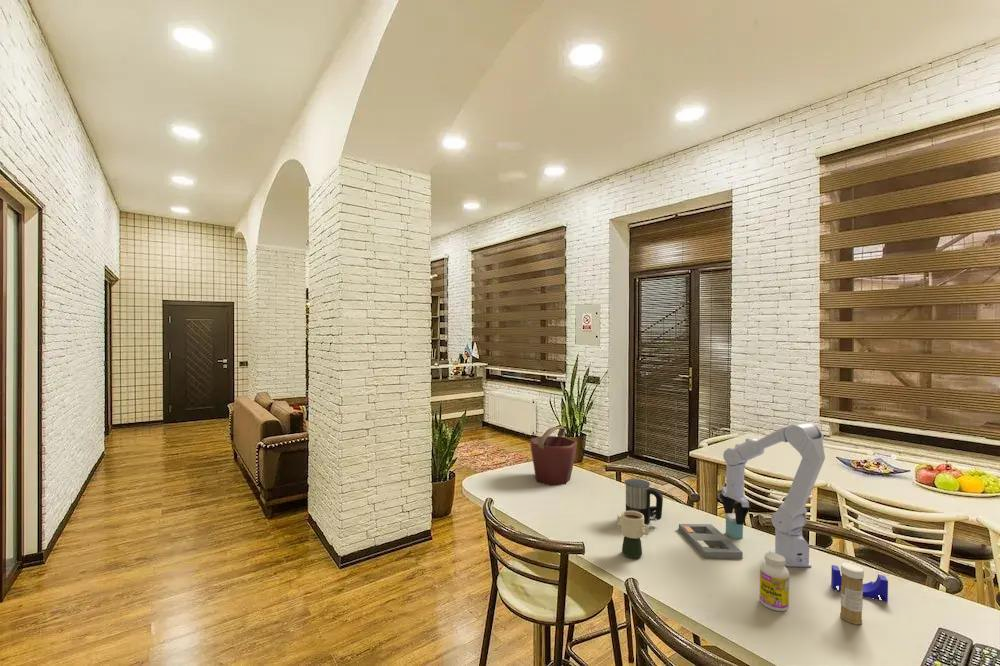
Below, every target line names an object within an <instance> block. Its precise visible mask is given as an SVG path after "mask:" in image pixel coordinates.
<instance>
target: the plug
mask: <svg viewBox="0 0 1000 666" xmlns="http://www.w3.org/2000/svg"><path fill="white" fill-rule="evenodd" d="M724 517H725V534H726V535H727V536H728V537H729V538H731V539H743V538H744V536H743V535H744V524H743V525H737V523H736V517H735V512H733V513H725V512H724Z"/></svg>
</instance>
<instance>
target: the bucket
mask: <svg viewBox="0 0 1000 666" xmlns="http://www.w3.org/2000/svg"><path fill="white" fill-rule="evenodd" d="M566 429H567V428H566V427H562V426H553V427H550V428H548V429H547V430H546V431H545V432H544V433H543V434H542V436H537V437H532V438H530V439H529V440H530V441H529V443H530V444H529V445H530V451H531V456H532V464H533V469H534V475H535V479H536V483H539V482H540V483H539V484H543V483H544V485H547V484H548V486H560V485H559V484H565V485H567V484H568V483H569V482H570V480H571V478H572V473H573V468H574V463H575V459H576V453H577V448H578V442H577V441H576V440H574V439H571V438H569V437H566V434H565V431H566ZM557 430H558V431H557ZM554 431H557V432H558V434H557V436H553V435H551V434H553V432H554ZM568 481H569V482H568ZM567 482H568V483H567ZM566 483H567V484H566Z"/></svg>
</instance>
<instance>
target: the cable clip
mask: <svg viewBox="0 0 1000 666" xmlns="http://www.w3.org/2000/svg"><path fill="white" fill-rule="evenodd" d="M830 575H831V577H830V579H831V584H830V585H831V588H832V587H833V588H832V590H833V589H834V590H833V591H835V590H837V588H836V586H839V591H838V592H840V591H841V585H842V573H841V568H840V567H839V565H834V564H831V574H830ZM878 595H880V597H881V599H882V600H883V601H887V602H886V603H888V602H889V580H888V579H887V577H886V575H882V574H879V573H878V574H877V578H876V579H875V581H869V582H867V583H863V596H864V597H863V598H866V597H870V598H874V599H873V600H875V599H878V600H877V601H879V597H878ZM870 598H869V599H870ZM883 601H882V602H883Z"/></svg>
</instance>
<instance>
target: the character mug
mask: <svg viewBox="0 0 1000 666" xmlns="http://www.w3.org/2000/svg"><path fill="white" fill-rule="evenodd" d="M620 514H621V515H617V518H616V519H617V522H616V523H617V526H619V527H620V532H621V534H622V535H623V536H624V537H623V542H622V547H621V552H622V554H623V556H625V557H627V558H639V557H641V556H643V548H642V540H641V538H642V537H643V536H649V529H650V527H649V524H648V525H645V524H644V515H643V514H642V513H639V512H636V511H626V510H624V511H622V512H621V513H620Z"/></svg>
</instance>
